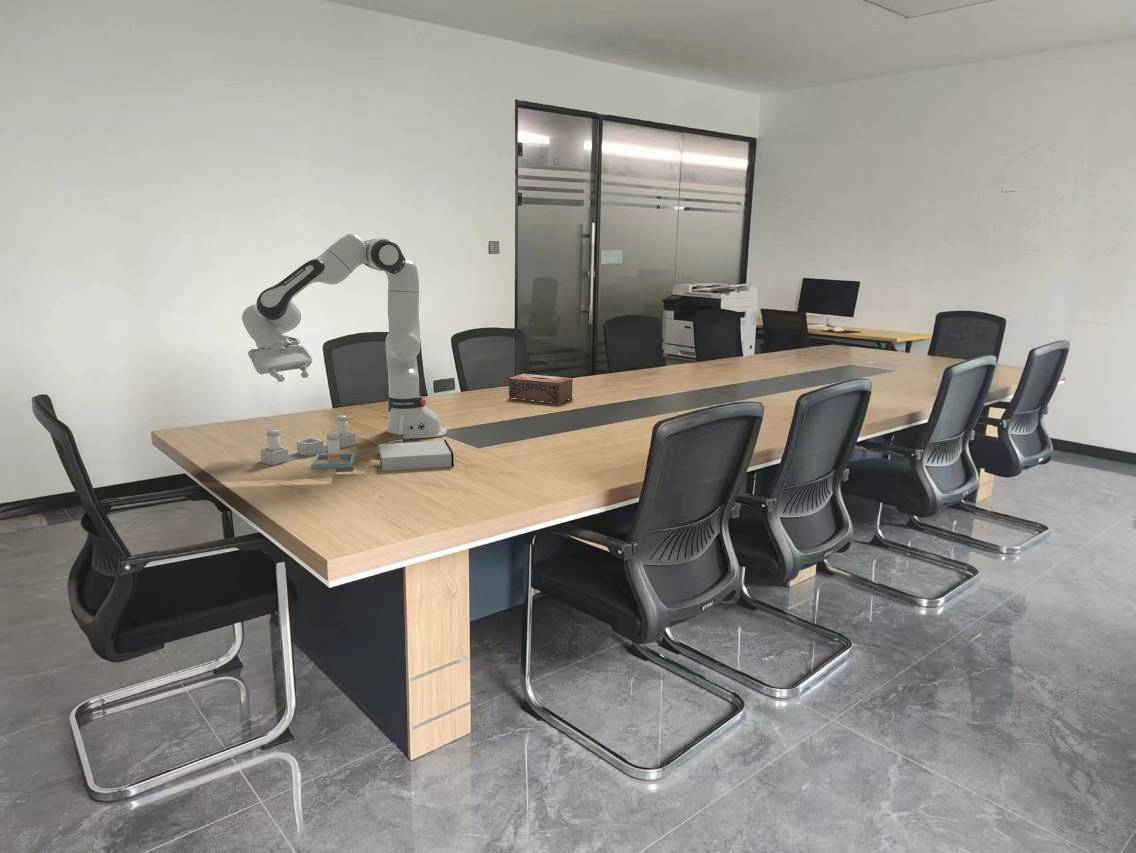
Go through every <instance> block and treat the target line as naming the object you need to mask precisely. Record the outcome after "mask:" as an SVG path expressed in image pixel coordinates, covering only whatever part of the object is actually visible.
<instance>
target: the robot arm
mask: <svg viewBox="0 0 1136 853" xmlns="http://www.w3.org/2000/svg"><path fill="white" fill-rule="evenodd" d="M402 252H403V251H402V250H401V248H400V246H399V244H397V243H396V242H395V241H393V240H392V239H388V238H384V237H383V238H382V237H380V238H379V237H378V238H374V239H373V238H372V239H369V240H363V238H362V237H360V236H359V235H357V234H354V233H347V234H345V235H344V236H342V237H341V238H339V239H337V240H336V241H335V242H334V243H333V244H331V245H330V246H329V247H328V248H327V249H326V250H324V252H322V253H321V254H320V255H319V256H316V257H315V258H313V259H311V260H308V261H306V262H305V263H304V264H302V265H300V266H299V267H298V268H297V269H295V270H294V271H292V272H291V273H290V274H289V275H287V276H286V277H284V278H283V279H282V280H281V281H280V282H278V283H275V285H273V286H270V287H268V288H266V289H264V290H263V291H262V292H260V294H259V295H258V297H257V299H256V303H255V304H251V305H249V306H247V307H246V308H245V309H244V310H243V312H242V315H241V321H242V324H243V326H244V328H245V330H246V332H247V333H248V335H249V337H250V338H251V339H252V340H254V342H255V346H256V348H252V349H250V350H249V351H248V352H247V355H248V357H249V359H250V360H251V363H252V365H253V367H254V369H255V371H256V373H258V374H259V375H265V374H269V375H270V376H271V377H273V378H275V379H276V380H277V381H278V383H282V382H284V381H285V377H284V375H283V374H280V373H281V372H285V371H291V370H293V371H294V370H300V371H301V373H300V376H301V377H302V379H306V378H307V379H308V377H309V373H308V371H307V368H309V367H310V366H311V365H312V362H313V358H312V356H311V353H309V352H308V350H307V348H306V347H304V346H303V345H302V344H300V343H301V340H300V339H299V338H297V337H293V336H288V335H284V334H285V333H288V332H290V331H292V330H294V329H295V328H297V327H298V325H299V324H300V322H301V321H302V314H301V310H300V309H299V308H298V307H297V306H296V304H295V303H293V301H292V300H293V298H294V297H296V295H298V294H299V293H301V292H302V291H303V290H304V289H306V288H307V287H309V286H310V285H311V284H313V283H321V284H322V283H323V284H326V285H338V284H341V283H342V282H343V281H345V280H346V279H347V278H348V277H349V276H350V275H351V274H352V273H353V272H354V271H355V270H356V269H357V268H358V267H360V266H361V265H365V266H366V267H367V268H370V269H372V270H376V271H379V272H385V274H386V277H387V282H388V283H387V320H388V323H387V324H388V333H387V335H386V337H385V341H384V342H385V343H384V344H385V354H386V355H385V357H386V366H387V367H386V368H387V375H388V376H387V378H388V380H387V381H388V396H387V410H388V421H387V427H386V432H387V433H391V434H395V435H402V436H403V437H402V439H403V440H409V439H410V440H411V439H423V438H424V439H425V438H426V439H427V438H440V437H444V436H446V435H447V432H448V430H447V428H446V427H445V426H442V423H441V420H440V417H439V415H438V414H437V413H436V412H435V411H433V410H432V409H430V408H429V407H428V406H426V404H427V400H426V399H425V397H424V396H421V395H420V377H419V376H420V375H419V369H418V368H419V367H418V361H417V357H418V355H419V353H420V351H421V329H420V327H421V326H420V280H419V278H420V277H419V272H418V271H419V270H418V267H417V265H416V264H415V262H413V261H411V260H409V259H406V258H405V256H404V254H403V253H402ZM279 372H280V373H279Z"/></svg>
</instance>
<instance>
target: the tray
mask: <svg viewBox="0 0 1136 853" xmlns="http://www.w3.org/2000/svg"><path fill="white" fill-rule="evenodd" d="M320 459H321V460H323V459H326V460H327V459H328V453H322V454H317V455H315V457H314V459H313V461H312V463H311V469H335V473H349V472H350V473H351V472H353V470H354V467H353V466H354V462H355V459H356V452H349V453H348V452H346V453H345V452H344V453H342V452H340V459H350V460H349V462H348V461H347V462H341V463H328V462H323V463H321V462H320V463H318V462H319V460H320Z"/></svg>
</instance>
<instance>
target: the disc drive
mask: <svg viewBox="0 0 1136 853" xmlns="http://www.w3.org/2000/svg"><path fill="white" fill-rule="evenodd" d="M378 453H379V454H378V455H379V461H380V466H381V470H382V471H383V472H384V471H385V472H386V471H399V470H413V469H416V470H417V469H431V468H445V467H447V468H448V467H454V466H455V465H454V463H455V462H454V451H453V449H452V448H451V447H450V444H449V443H448V441H447V439H443V440H434V441H433V440H431V441H416V442H414V441H413V442H412V441H411V442H398V443H397V442H396V443H379V444H378Z"/></svg>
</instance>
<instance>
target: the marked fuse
mask: <svg viewBox="0 0 1136 853" xmlns="http://www.w3.org/2000/svg"><path fill="white" fill-rule="evenodd" d="M326 441H327V445H328V452H327V454H328V458H327V459H328V460H327V463H342V462H341V458H340V453H341V449H340V446H339V434H338V433H335V432H330V433H327V434H326ZM327 445H326V446H327Z"/></svg>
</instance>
